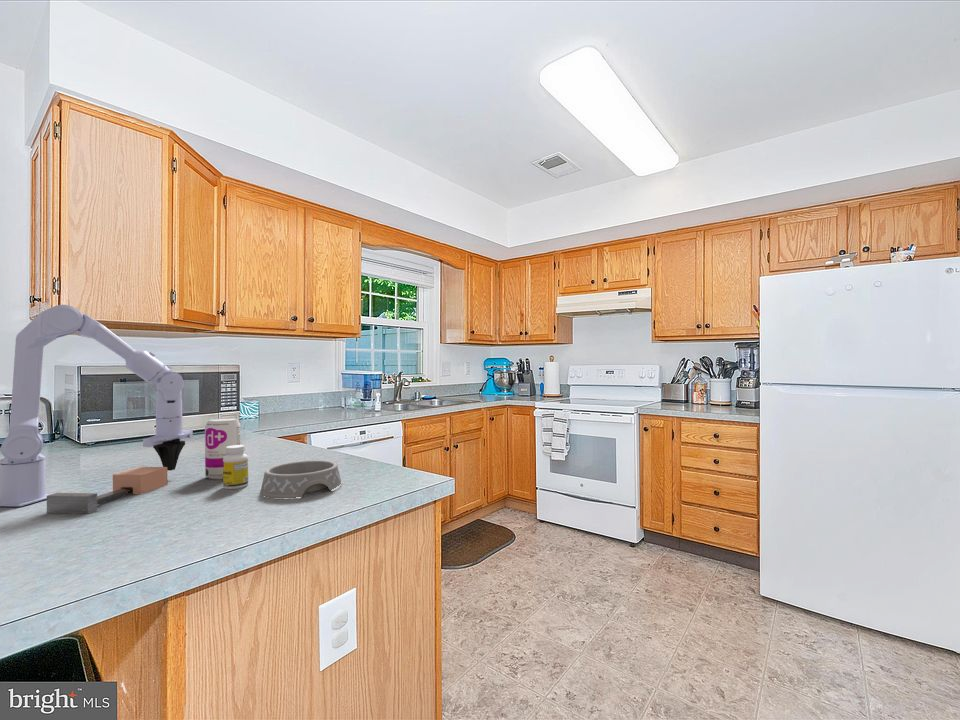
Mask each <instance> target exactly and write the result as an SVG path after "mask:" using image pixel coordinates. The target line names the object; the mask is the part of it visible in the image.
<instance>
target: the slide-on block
mask: <svg viewBox="0 0 960 720" xmlns="http://www.w3.org/2000/svg"><path fill="white" fill-rule="evenodd" d="M168 482H169V481H168V470H167V467H163V466H139V467H135V468H132V469H128V470H125V471H121V472H117V473H113V474H112V491H116V490H128V492H130V491H132V494H133V495H142V494H145V493H148V492H150V491H154V490H156V489H157V490H158V489H159V488H162V487H165V486H168V485H169V484H168Z"/></svg>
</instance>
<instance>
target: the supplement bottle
mask: <svg viewBox="0 0 960 720" xmlns="http://www.w3.org/2000/svg"><path fill="white" fill-rule="evenodd" d="M245 450H246V447H245V445H244V444H241V445H232V446H227V447H226V453H227V456H225V457H224V458H223V479H222V481H223V482H222V485H223V487H222V488H223V489H226V490H238V489H241V488H242V489H243V488H245V487H247V486H249V456H248V455H247V454H246V453H245Z"/></svg>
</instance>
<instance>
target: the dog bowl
mask: <svg viewBox="0 0 960 720" xmlns="http://www.w3.org/2000/svg"><path fill="white" fill-rule="evenodd" d="M341 481H342V478H341V475H340V471H339V467H338V464H337V463H336V462H334V461H330V460H318V459H317V460H316V459H315V460H313V459H312V460H301V461H299V460H298V461H291V462H285V463H280V464H276V465H273V466H270V467H268V468H267V469H266V470H265V471H264V474H263V479H262V483H261V488H260V491H259V494H261V495H262V496H261V495H260V496H261V497H263V496H265V497H264V498H266V497H269V498H268V499H271V498H296V497H301V498H303V495H304V493H306V494H307V493H313V492H315V491H316V490H317V491H321V490H323V489H326V488H328V489H329V491H330V490H332V489H334V488H336V487H337V486H339V485H340V484H341ZM325 487H326V488H325ZM322 488H323V489H322ZM320 489H321V490H320ZM312 491H313V492H312ZM317 491H316V492H317Z"/></svg>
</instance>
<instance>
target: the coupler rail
mask: <svg viewBox="0 0 960 720" xmlns="http://www.w3.org/2000/svg"><path fill="white" fill-rule="evenodd" d="M128 492H129V491H128V490H116V491H113V490H112V491H110V492H106V493H103V494H100V495H98V493H97V492H95V493H93V492H92V493H91V492H90V493H89V492H87V493H84V492H55V493H50V494H51V495H47V499H46V514H72V513H82V514H81V515H83V513H84V515H89V514H91V512H92V513H94V512H97V511H98V506H99V505H101V504H104V503H107V502H111V501H113V500H117V499H121V498H122V497H125V496H128ZM88 513H89V514H88Z"/></svg>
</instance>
